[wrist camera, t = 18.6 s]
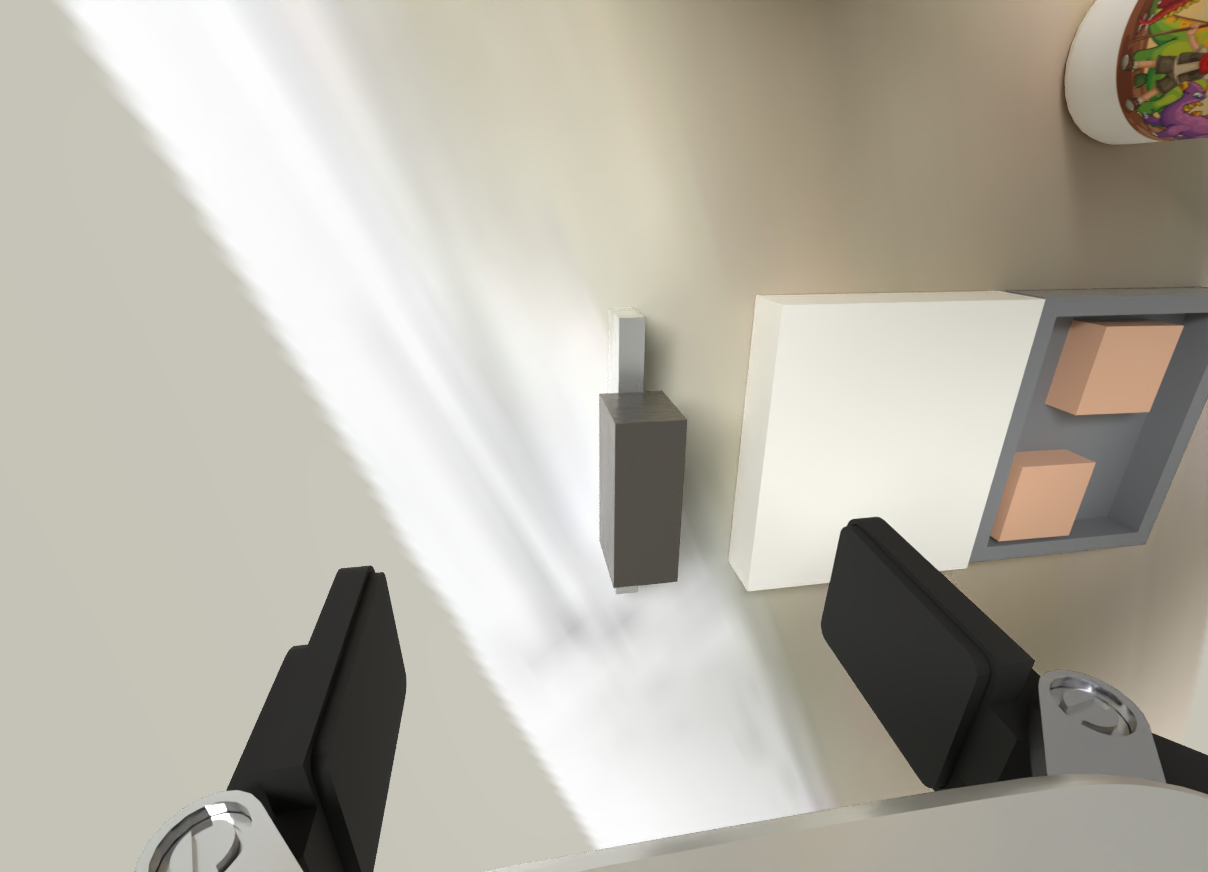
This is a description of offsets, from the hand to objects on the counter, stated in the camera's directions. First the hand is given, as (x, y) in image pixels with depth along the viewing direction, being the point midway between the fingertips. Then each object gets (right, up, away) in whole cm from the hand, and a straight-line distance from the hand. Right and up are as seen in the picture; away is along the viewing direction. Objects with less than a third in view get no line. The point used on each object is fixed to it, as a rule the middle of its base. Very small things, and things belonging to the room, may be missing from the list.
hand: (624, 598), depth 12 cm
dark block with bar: (0, +3, +19) cm, 20 cm away
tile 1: (+26, 0, +24) cm, 36 cm away
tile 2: (+29, +7, +20) cm, 36 cm away
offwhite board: (+14, +3, +22) cm, 26 cm away
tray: (+28, +4, +24) cm, 37 cm away
